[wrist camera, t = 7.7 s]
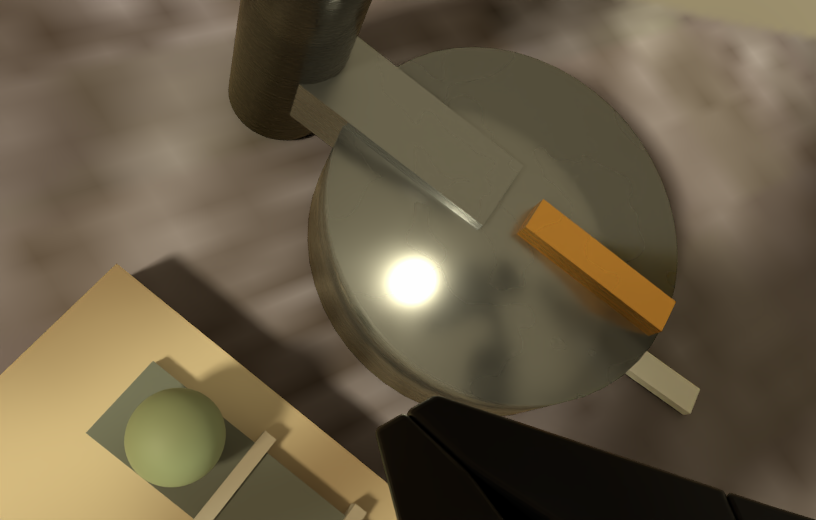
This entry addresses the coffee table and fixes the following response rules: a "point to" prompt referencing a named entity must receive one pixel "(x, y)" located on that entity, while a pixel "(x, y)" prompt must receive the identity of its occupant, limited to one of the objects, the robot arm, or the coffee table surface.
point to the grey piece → (464, 209)
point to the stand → (161, 427)
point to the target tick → (664, 383)
